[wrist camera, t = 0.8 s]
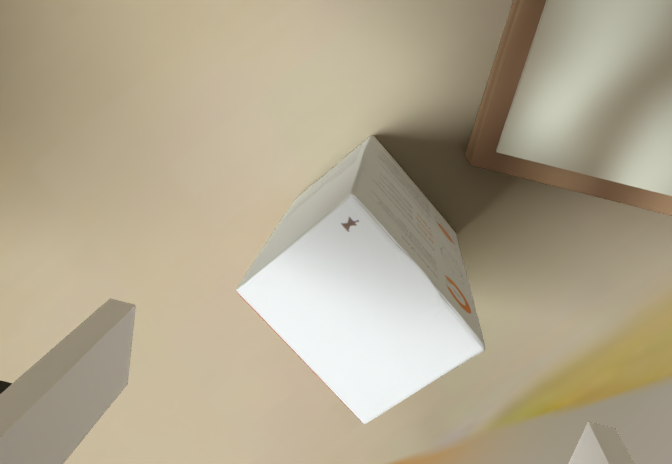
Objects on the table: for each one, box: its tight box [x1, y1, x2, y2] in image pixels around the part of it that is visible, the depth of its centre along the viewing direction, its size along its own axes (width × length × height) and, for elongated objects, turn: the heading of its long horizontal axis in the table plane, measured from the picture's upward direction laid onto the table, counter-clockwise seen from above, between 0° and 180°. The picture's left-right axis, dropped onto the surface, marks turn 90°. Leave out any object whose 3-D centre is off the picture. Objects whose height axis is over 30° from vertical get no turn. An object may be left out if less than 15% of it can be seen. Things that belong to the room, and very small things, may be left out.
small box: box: [236, 135, 485, 424], centre depth 27 cm, size 8×6×13 cm
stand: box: [465, 0, 672, 216], centre depth 27 cm, size 14×14×3 cm
